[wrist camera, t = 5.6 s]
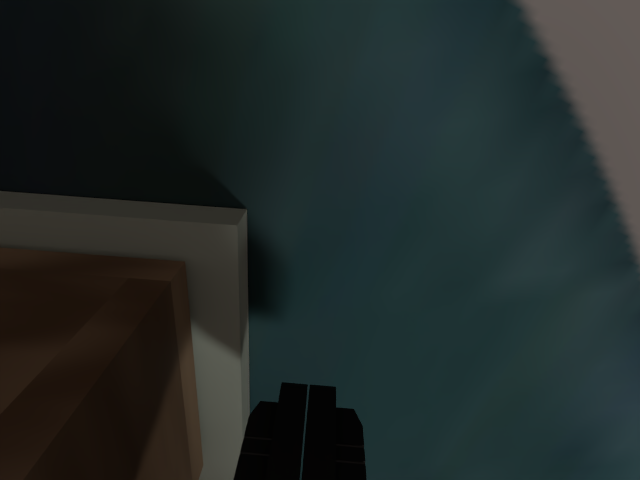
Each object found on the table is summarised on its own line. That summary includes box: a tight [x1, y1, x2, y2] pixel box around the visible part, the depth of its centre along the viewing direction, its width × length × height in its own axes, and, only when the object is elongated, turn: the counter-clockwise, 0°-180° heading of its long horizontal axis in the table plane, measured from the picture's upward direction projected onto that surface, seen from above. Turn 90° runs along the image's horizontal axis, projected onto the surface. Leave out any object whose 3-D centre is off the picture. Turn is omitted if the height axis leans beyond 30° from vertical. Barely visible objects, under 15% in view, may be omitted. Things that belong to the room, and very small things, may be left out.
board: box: [0, 191, 250, 480], centre depth 16 cm, size 12×23×1 cm, turn 176°
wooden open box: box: [0, 248, 203, 480], centre depth 9 cm, size 7×8×6 cm
